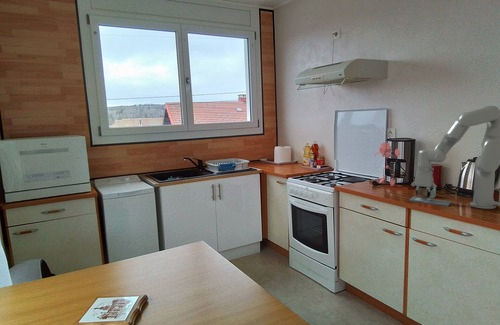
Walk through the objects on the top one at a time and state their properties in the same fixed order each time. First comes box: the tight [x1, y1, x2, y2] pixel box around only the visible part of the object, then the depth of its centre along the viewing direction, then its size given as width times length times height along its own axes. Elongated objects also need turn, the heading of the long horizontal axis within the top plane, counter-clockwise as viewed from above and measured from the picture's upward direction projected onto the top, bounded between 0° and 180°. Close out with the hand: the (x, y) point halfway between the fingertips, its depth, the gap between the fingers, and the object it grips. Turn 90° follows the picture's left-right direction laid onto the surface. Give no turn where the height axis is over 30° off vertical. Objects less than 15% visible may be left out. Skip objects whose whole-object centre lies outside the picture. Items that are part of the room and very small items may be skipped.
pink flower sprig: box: [374, 141, 401, 189], centre depth 253 cm, size 15×26×35 cm, turn 22°
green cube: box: [425, 187, 437, 199], centre depth 218 cm, size 6×6×6 cm
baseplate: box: [408, 196, 452, 208], centre depth 205 cm, size 22×10×1 cm, turn 48°
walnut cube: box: [416, 187, 428, 199], centre depth 207 cm, size 6×6×6 cm
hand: (423, 196), depth 207 cm, fingers closed on walnut cube, 5 cm apart
